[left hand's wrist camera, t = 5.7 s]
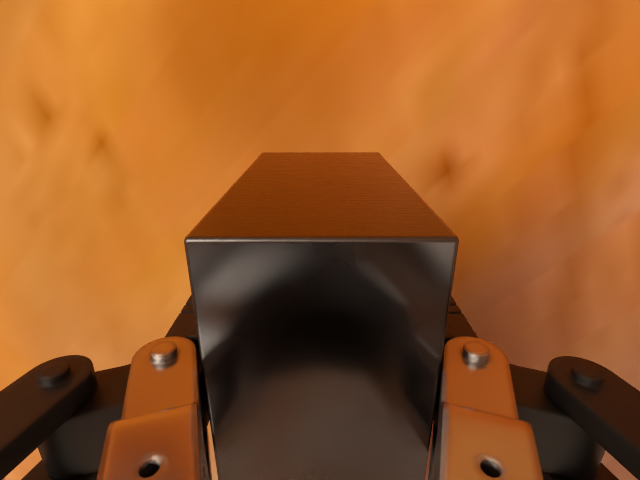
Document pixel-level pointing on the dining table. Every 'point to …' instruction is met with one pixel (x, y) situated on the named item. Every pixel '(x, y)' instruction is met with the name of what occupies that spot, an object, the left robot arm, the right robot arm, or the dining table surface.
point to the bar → (321, 319)
